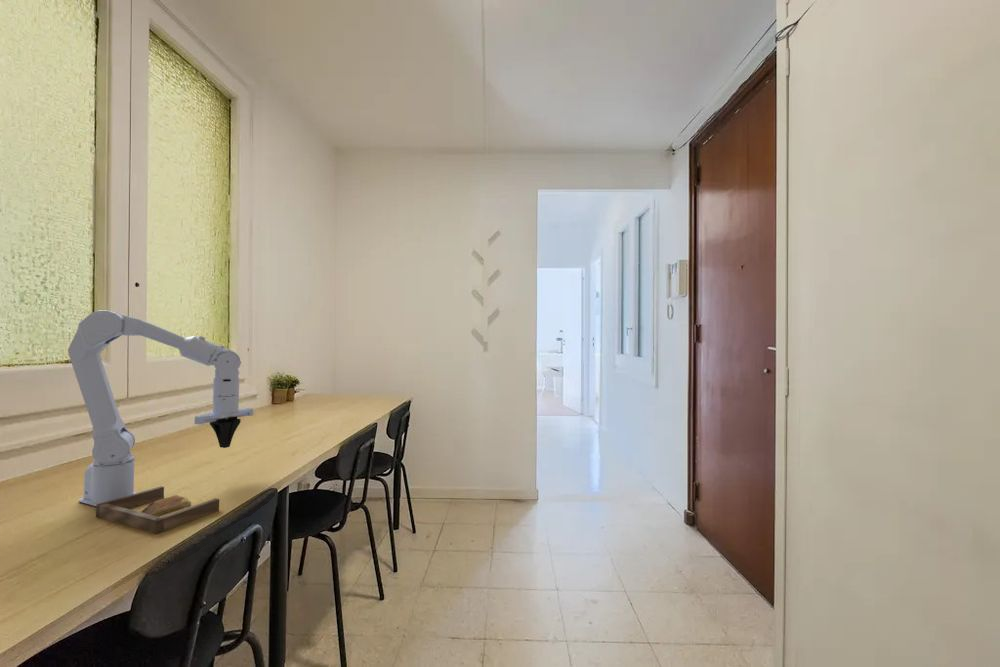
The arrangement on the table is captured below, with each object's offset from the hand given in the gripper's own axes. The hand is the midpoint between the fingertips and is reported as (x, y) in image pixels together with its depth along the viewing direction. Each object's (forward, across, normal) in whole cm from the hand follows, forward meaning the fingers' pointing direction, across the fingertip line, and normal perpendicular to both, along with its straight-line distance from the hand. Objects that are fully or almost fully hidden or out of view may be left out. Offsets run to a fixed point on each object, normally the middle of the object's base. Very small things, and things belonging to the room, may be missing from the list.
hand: (224, 447), depth 110 cm
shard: (+10, -17, -5) cm, 20 cm away
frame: (+9, -18, -6) cm, 21 cm away
